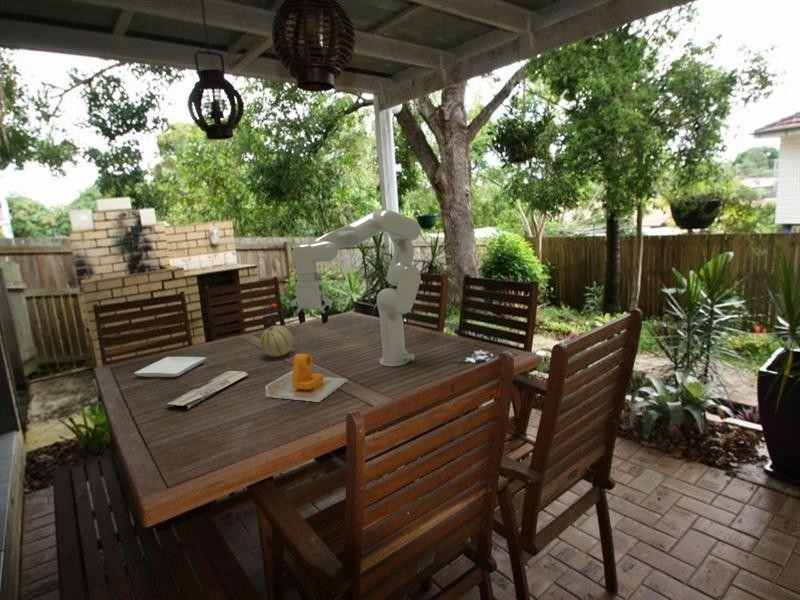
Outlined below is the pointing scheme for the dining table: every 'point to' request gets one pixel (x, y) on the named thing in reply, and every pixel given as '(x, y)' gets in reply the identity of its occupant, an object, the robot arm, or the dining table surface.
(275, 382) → the plate
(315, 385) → the bracket
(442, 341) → the dining table surface
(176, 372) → the salad plate
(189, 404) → the newspaper
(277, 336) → the cantaloupe
